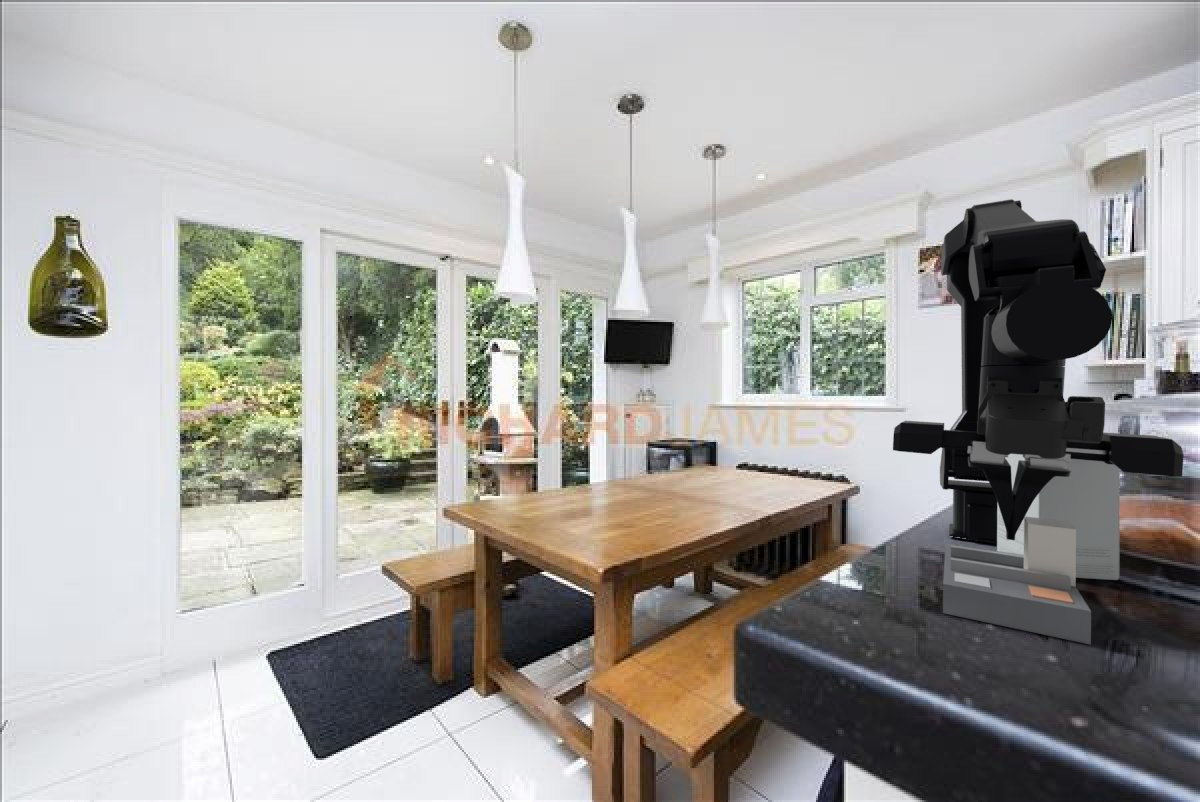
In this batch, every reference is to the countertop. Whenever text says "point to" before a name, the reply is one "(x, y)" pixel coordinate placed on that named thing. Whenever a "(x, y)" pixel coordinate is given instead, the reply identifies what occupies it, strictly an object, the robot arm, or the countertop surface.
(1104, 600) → the countertop surface
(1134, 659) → the countertop surface
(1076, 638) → the switch board
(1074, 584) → the switch tab
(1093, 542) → the supplement box
